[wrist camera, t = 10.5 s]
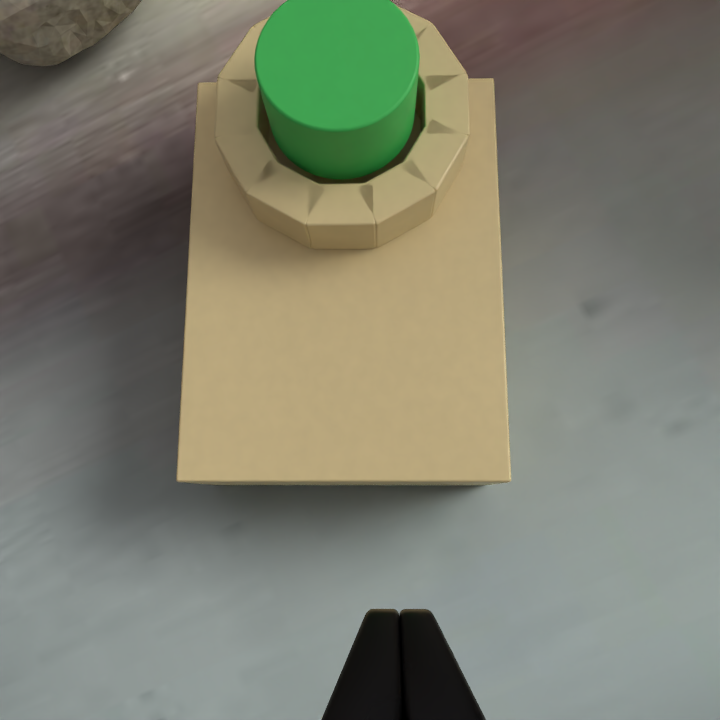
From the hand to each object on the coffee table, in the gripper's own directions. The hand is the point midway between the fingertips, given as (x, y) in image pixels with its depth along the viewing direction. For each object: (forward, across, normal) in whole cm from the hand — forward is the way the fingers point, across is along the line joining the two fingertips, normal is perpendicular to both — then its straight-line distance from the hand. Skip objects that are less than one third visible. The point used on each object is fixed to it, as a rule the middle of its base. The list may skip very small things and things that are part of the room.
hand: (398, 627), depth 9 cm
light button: (+14, +1, -3) cm, 14 cm away
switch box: (+15, +1, +4) cm, 15 cm away
